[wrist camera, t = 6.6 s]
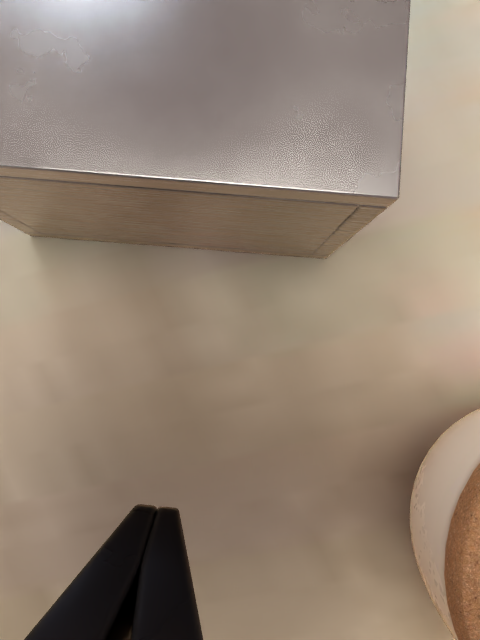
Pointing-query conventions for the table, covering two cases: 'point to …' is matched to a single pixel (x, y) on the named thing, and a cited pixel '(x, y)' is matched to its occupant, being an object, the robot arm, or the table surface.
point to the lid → (207, 95)
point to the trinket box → (450, 526)
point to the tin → (180, 217)
